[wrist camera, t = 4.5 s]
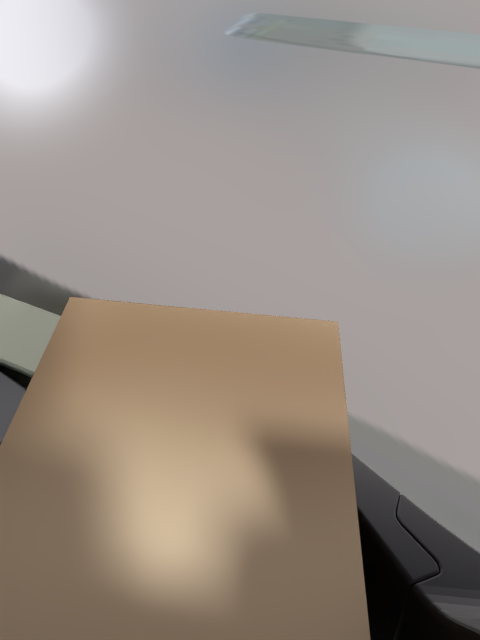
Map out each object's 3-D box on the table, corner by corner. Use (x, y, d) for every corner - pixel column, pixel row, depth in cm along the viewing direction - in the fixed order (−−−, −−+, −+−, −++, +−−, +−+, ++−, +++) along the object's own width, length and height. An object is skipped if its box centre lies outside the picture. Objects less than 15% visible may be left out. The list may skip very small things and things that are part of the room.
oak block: (262, 563, 12) (382, 756, 3) (141, 551, 12) (-121, 703, 3) (266, 435, 15) (337, 322, 6) (167, 426, 15) (69, 296, 6)
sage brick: (106, 350, 18) (86, 325, 15) (75, 396, 17) (48, 377, 14) (22, 319, 19) (-9, 290, 16) (-13, 360, 17) (-55, 335, 15)
